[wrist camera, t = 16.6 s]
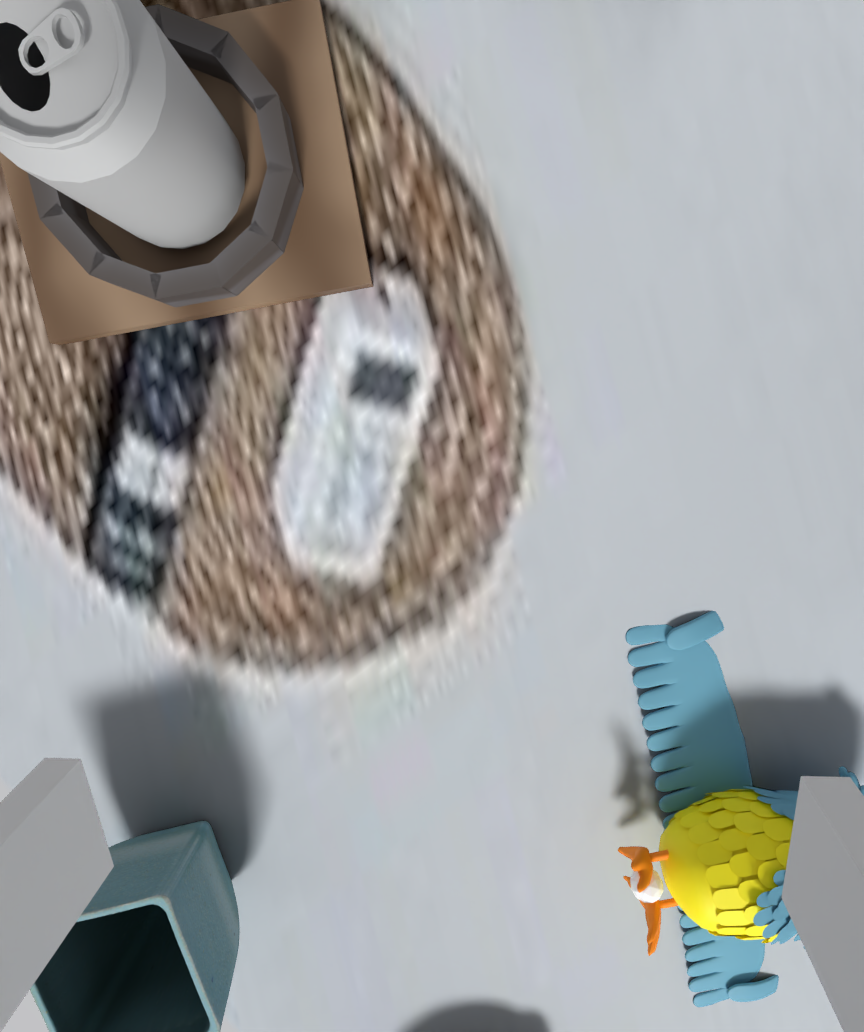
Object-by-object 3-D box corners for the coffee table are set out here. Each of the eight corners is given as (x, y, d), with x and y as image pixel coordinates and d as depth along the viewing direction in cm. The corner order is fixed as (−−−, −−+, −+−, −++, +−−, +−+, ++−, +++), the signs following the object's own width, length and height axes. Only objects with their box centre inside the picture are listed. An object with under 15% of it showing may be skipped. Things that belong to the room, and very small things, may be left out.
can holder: (321, 7, 32) (308, -42, 28) (373, 286, 34) (366, 272, 31) (-12, 75, 32) (-66, 35, 29) (60, 344, 35) (19, 337, 31)
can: (82, 137, 32) (-124, -25, 20) (211, 74, 31) (77, -128, 20) (148, 276, 33) (-10, 201, 21) (274, 218, 33) (183, 108, 21)
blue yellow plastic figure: (608, 701, 29) (920, 631, 29) (565, 636, 38) (807, 582, 38) (697, 1163, 34) (969, 1106, 34) (641, 1012, 43) (857, 966, 42)
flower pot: (143, 932, 41) (64, 1075, 32) (97, 817, 40) (0, 934, 31) (268, 902, 41) (222, 1038, 32) (226, 785, 39) (165, 893, 30)
